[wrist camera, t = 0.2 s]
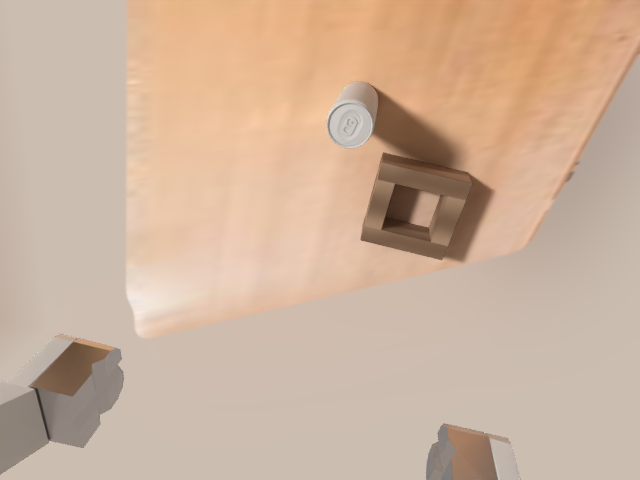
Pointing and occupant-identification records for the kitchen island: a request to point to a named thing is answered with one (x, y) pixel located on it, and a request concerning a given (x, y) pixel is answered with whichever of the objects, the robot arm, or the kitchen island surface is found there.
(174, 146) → the kitchen island surface
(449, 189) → the walnut holder
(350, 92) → the beverage can
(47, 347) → the robot arm
